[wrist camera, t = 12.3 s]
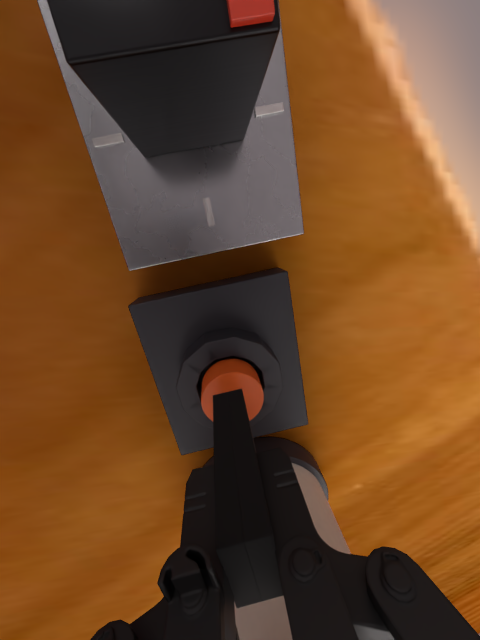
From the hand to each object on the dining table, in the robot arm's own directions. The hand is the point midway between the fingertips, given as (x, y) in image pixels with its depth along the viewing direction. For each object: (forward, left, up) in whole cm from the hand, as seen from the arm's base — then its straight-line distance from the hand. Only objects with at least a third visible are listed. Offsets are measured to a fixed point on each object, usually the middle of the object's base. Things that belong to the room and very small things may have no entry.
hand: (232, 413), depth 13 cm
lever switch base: (-14, +1, -7) cm, 15 cm away
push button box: (0, 0, -7) cm, 7 cm away
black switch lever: (-14, +1, -4) cm, 14 cm away
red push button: (0, 0, -3) cm, 3 cm away
